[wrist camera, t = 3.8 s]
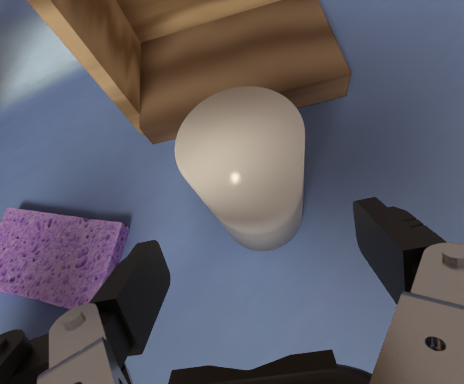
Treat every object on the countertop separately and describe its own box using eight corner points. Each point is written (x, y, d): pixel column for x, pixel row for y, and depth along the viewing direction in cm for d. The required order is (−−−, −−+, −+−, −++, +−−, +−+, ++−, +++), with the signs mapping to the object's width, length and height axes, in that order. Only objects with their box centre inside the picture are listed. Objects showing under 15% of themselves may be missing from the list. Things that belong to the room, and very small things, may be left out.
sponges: (106, 315, 21) (90, 315, 20) (-13, 286, 25) (-36, 284, 23) (135, 227, 24) (122, 221, 22) (23, 212, 27) (5, 205, 26)
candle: (209, 209, 23) (152, 138, 14) (266, 163, 23) (246, 67, 14) (257, 268, 20) (224, 227, 11) (319, 214, 21) (336, 135, 12)
